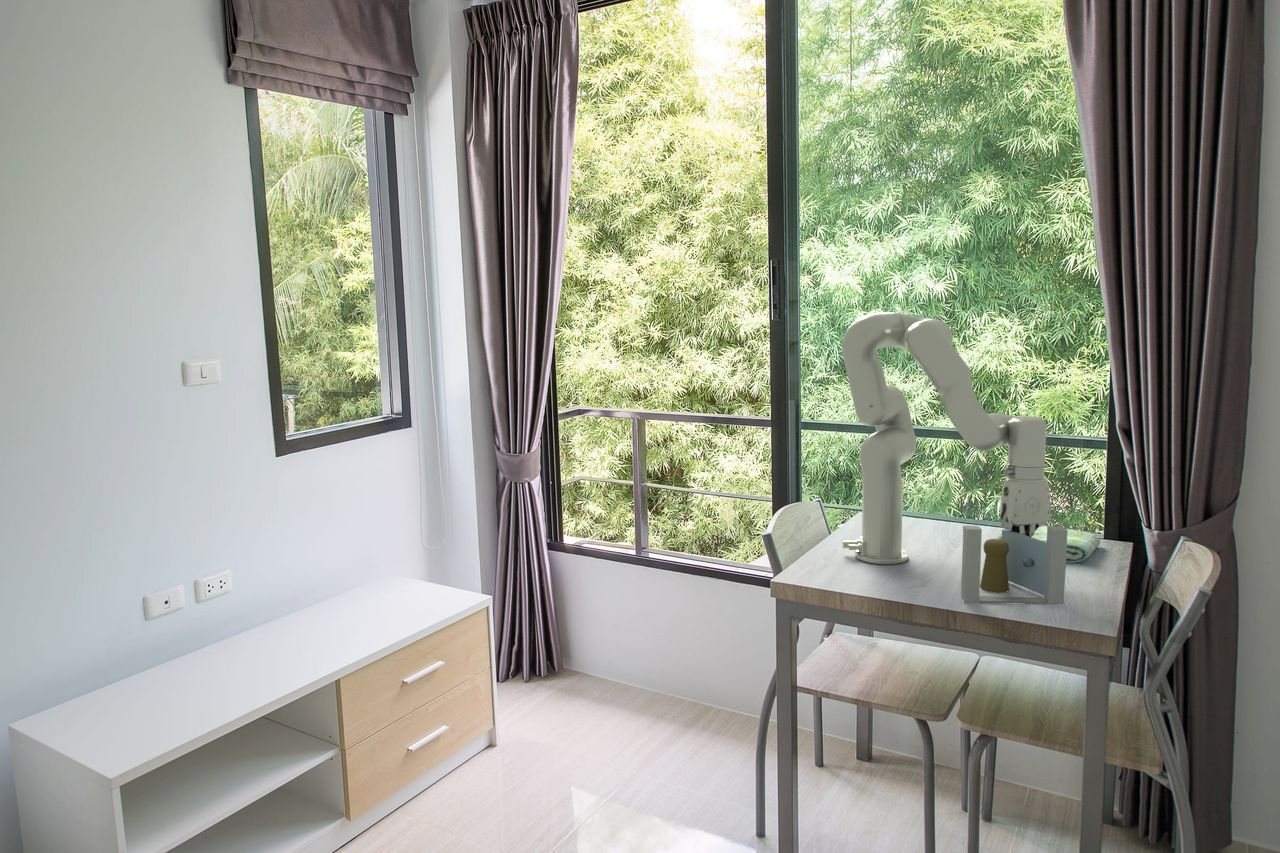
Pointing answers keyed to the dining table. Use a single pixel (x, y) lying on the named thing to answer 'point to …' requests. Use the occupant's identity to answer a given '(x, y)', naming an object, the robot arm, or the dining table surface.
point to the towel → (1072, 543)
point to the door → (1025, 560)
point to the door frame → (1051, 594)
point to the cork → (995, 567)
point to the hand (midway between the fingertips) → (1022, 552)
